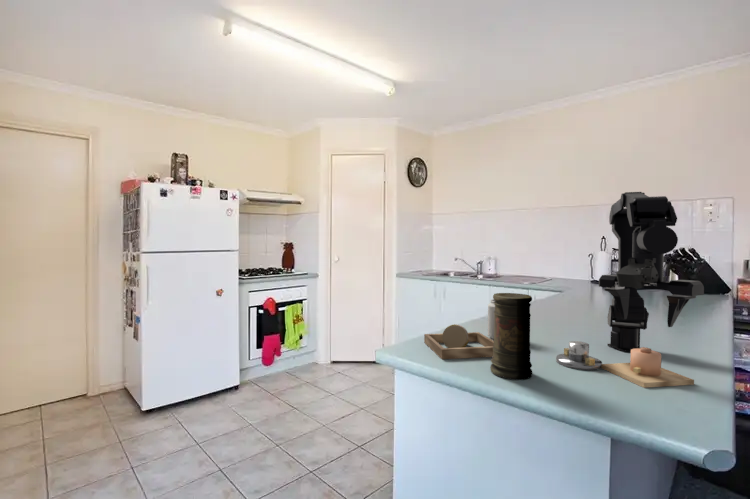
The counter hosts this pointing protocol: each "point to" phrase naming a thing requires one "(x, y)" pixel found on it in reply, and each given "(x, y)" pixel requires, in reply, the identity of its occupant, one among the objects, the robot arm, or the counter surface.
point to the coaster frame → (464, 352)
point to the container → (512, 336)
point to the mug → (455, 336)
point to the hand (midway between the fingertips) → (646, 322)
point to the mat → (647, 381)
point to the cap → (645, 361)
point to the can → (491, 319)
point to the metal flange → (578, 357)
